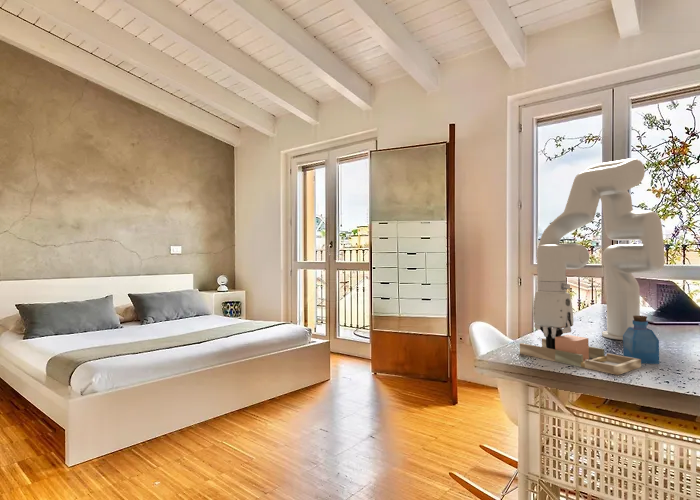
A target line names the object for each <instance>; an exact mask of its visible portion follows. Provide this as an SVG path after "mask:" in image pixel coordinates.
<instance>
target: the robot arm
mask: <svg viewBox="0 0 700 500" xmlns="http://www.w3.org/2000/svg"><path fill="white" fill-rule="evenodd" d="M645 171H646V170H645V166H644V164H643V162H642V161H641V160H640V159H638V158H634V157H633V158H632V157H631V158H626V159H620V160H613V161H607V162H601V163H596V164H593V165H590V166H588V167H587V168H586V169H584V171H581V172H579V173H578V174H577V175H576V176H575V177H574V180H573V182H572V185H571V189H570V191H569V195H568V199H567V200H566V201H567V202H566V204H565V208H564V210H563V212H562V213H560V215H558V216H557V217H556V218H555V219H554V220H553V221H552V222H551V223H550V224H548V226H547V227H546V228H545V229H544V231H543V232H542V234H541V237H540V240H539V242H538V247H537V249H536V269H537V270H536V271H537V273H536V275H537V276H536V277H537V278H536V279H537V281H536V282H537V283H536V285H537V288H536V289H537V290H536V291H535V294H534V298H533V299H534V300H533V305H532V307H533V309H532V320H533V323H534V326H533V327H534V328H535V329H537V330H540V331H541V332H542V333H543V336H544V338H545V339H546V347H547V348H550V349H555V337H559V336H563V334H569V333H571V332H572V328H571V327H573V326H574V310H573V303H572V299H571V294H570V292H567V291H568V290H571V284H569V283H567V270H579V269H582V268H584V267H585V266H586V265H587V264H588V263H589V260H590V253H589V251H588V249H587V247H586V246H585V245H582V244H581V243H559V242H560V240H562V239H563V237H565V236H566V235H568V234H569V233H571V232H573V231H576V230H577V229H580V228H582V227H584V226H586V225H588V224H589V223H591V222H593V221H594V219H595V216H596V212H597V209H598V206H599V203H600V201H601V207H602V212H603V213H602V214H603V216H602V217H603V223H604V225H603V226H604V232H605V236H606V237H607V238H608V239H609V240H612V241H640V242H641V243H618V244H617V243H616V244H613V245H609V246H607V247H605V249H604V250H603V253H602V263H603V268H604V272H605V273H604V274H605V282H606V285H605V286H606V330H603V331H602V332H601V335H602V337H604V338H607V339H611V340H618V341H623V335H624V333H625V332H626V331H627V329H628V328H629V327H634V324H633V320H634V318H633V316H641V306H640V305H641V299H640V298H641V297H640V296H641V295H640V284H639V282H638V281H637V279H636V277H635V276H634V275H633V274H636V273H637V274H656V273H659V272H661V271H662V270H663V268H664V266H665V258H666V257H665V245H664V235H663V233H664V232H663V227H662V226H663V225H662V221H661V219H660V218H661V217H660V215H658V214H657V213H656V212H655V211H653V210H634V209H633V202H632V195H631V194H630V193H629V191H628V190H631V189H632V188H635V187H637V186H639V184H641V182H642V181H643V180H644V178H645Z"/></svg>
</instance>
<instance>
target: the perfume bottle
mask: <svg viewBox="0 0 700 500" xmlns="http://www.w3.org/2000/svg"><path fill="white" fill-rule="evenodd" d="M633 318H634V320H633V324H634V327H629V328H628V329H627V331H626V332H625V333H624V335H623V340H622V345H623V346H622V347H623V348H622V349H623V350H622V352H623V354H622V356H626V357H632V358H637V359H641V364H645V365H646V364H650V365H651V364H653V365H660V340H659V339H658V337H657V336H656V334H655V332H654V330H653V329H650V328H648V327H647V326H649V322H648V320H647V319H648V316H646V315H640V316H633Z"/></svg>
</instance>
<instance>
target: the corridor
mask: <svg viewBox="0 0 700 500" xmlns="http://www.w3.org/2000/svg"><path fill="white" fill-rule="evenodd" d="M519 355H522V356H523V355H525V356H529V357H533V358H539V359H543V360H547V361H551V362H556V363H560V364H566V365H569V366H570V365H571V366H575V367H578V368H579V367H580V368H583V369H589V370H591V371H593V370H594V371H597V372H603V373H606V374H612V375H616V376H619V375H622V374H625V373H628V372H630V371H633V370H636V369H640V368H642V363H641V359H637V358H632V357H626V356H623V355H619V354H615V353H609V352H608V353H606V355H605V348H601V347H595V346H591V345H589V360H585V361H584V362H583V355H581V354H576V353H571V352H565V351H560V350H555V349H550V348H547V347H546V337H544V338H541V346H539V345H534V344H528V343H524V342H523V343H522V342H520V343H519Z"/></svg>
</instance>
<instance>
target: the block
mask: <svg viewBox="0 0 700 500" xmlns="http://www.w3.org/2000/svg"><path fill="white" fill-rule="evenodd" d="M589 346H590V345H589V338H588V337H582V336H578V335H570V334H564V335H561V336H559V337H555V350H560V351H565V352H571V353H576V354H581V355H583V362H584V361H585V360H590V358H589Z"/></svg>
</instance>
